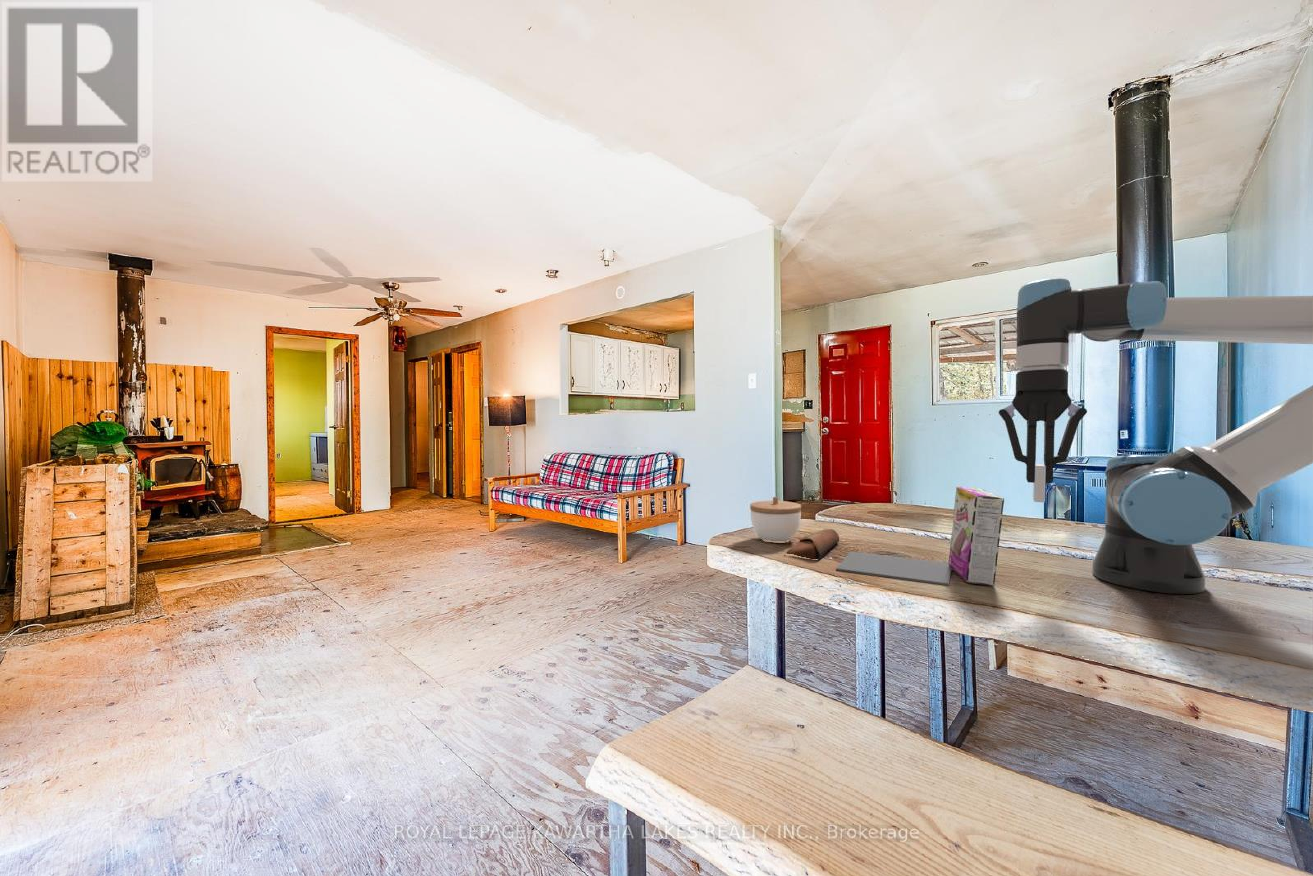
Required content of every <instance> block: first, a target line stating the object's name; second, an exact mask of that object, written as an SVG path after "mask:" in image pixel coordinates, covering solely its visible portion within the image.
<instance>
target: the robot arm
mask: <svg viewBox="0 0 1313 876" xmlns="http://www.w3.org/2000/svg"><path fill="white" fill-rule="evenodd" d="M1016 307H1017V308H1016V350H1015V351H1016V355H1015V356H1016V357H1015V358H1016V359H1015V360H1016V361H1015V362H1016V363H1015V368H1016V369H1017V370H1019V371H1017V373H1016V374H1015V394H1014V395H1015V396H1014V398H1013V399H1012V401H1011V404H1010V405H1008V406H1006V407H1005V408H1002V409H1001V408H1000V409H999V410H998V415H999V416H1000V417H1001V419H1002V420H1003V421H1004V423H1005V427H1006V430H1007V435H1008V439H1009V442H1010V446H1011V449H1012V453H1013V456H1014V459H1015V460H1016V461H1017V462H1020V463H1024V464H1025V466H1026V472H1025V473H1026V474H1025V477H1026V478H1025V479H1026V481H1027V483H1033V492H1032V493H1033V494H1032V497H1033V502H1035V503H1045V502H1046V484H1053V482H1054V467H1055V465H1057V464H1060V463H1065V462H1067V459H1068V457H1069V453H1070V451H1071V447H1072V445H1073V441H1074V438H1075V435H1076V433H1077V430H1078V426H1079V423H1080V422H1081V420H1082V419H1083V418H1084V417H1085V416H1086V414H1087V413H1088V410H1087V408H1085V407H1080V406H1078V405H1076V404H1074V403H1073V402H1072V399H1071V397H1070V396H1069V371H1068V370H1067V369H1065V368H1066V367H1068V366H1069V355H1070V354H1069V351H1070V350H1069V349H1070V348H1069V346H1070V339H1069V337H1070V335H1071V334H1072V335H1073V334H1075V335H1076V334H1077V335H1079V334H1081V335H1083V337H1085V339H1088V340H1090V341H1093V342H1101V343H1106V342H1110V341H1114V340H1115V341H1166V342H1168V341H1170V342H1172V341H1174V342H1204V343H1205V342H1207V343H1209V342H1212V343H1249V344H1250V343H1251V344H1252V343H1253V344H1294V345H1296V344H1298V345H1313V295H1287V296H1286V295H1284V296H1283V295H1277V296H1274V295H1272V296H1270V295H1269V296H1267V295H1266V296H1263V295H1262V296H1204V297H1202V296H1201V297H1197V296H1195V297H1193V296H1191V297H1185V296H1184V297H1180V296H1179V297H1168V296H1167V288H1166V286H1165V284H1164V283H1163V282H1161V281H1158V280H1155V281H1154V280H1153V281H1141V282H1140V281H1133V282H1131V283H1122V284H1121V283H1120V284H1115V285H1107V286H1105V285H1104V286H1097V287H1090V288H1081V289H1080V288H1079V289H1077V288H1075V289H1074V288H1073V289H1072V286H1071V282H1070V280H1068V279H1066V278H1061V277H1060V278H1058V277H1057V278H1046V279H1041V280H1035V281H1030V282H1028V283H1026V284H1024V285H1023V286H1021V287H1020V289H1019V290H1018V293H1017V306H1016ZM1067 409H1068V412H1067V416H1068V417H1069V419H1068V421H1067V423H1066V427H1065V429H1064V433H1063V436H1062V438H1061V442H1060V445H1059V447H1058V448H1059V449H1058V451H1057V455H1055V426H1056V420H1058V419H1059V418H1060V417H1061V415H1063V414H1064V413H1065V412H1066V411H1067ZM1015 410H1016V411H1017V413H1019V415H1020V416H1021V417H1022V418H1023V420H1025V421H1026V451H1025V453H1026V454H1025V455H1024V454H1023V450H1022V448H1021V443H1020V440H1019V436H1018V433H1017V428H1016V425H1015V422H1014V419H1013V418H1014V417H1015ZM1038 422H1043V426H1044V427H1043V428H1044V430H1043V431H1044V433H1043V435H1044V436H1043V438H1044V439H1043V464H1039V463H1038V464H1036V462H1037V461H1036V460H1037V459H1036V458H1037V457H1036V456H1037V455H1036V454H1037V423H1038ZM1312 464H1313V384H1312V385H1311V386H1309V387H1307V388H1306V389H1304V390H1302V391H1301V392H1298V393H1297V394H1295V395H1294V396H1291V397H1290V398H1288V399H1286V400H1285V401H1283V402H1281V403H1279V404H1278V405H1276V406H1274V407H1273V408H1270V409H1269V410H1267V411H1265V412H1263V413H1262V414H1260V415H1258V416H1257V417H1255V418H1253V419H1251V420H1250V421H1248V422H1246V423H1245V424H1242V425H1241V426H1240V427H1238V428H1236V429H1234V430H1232V431H1230V432H1229V433H1227V434H1225V435H1223V436H1222V437H1219V438H1218V439H1216V440H1215V441H1212V442H1211V443H1209V444H1207V445H1206V446H1186V445H1184V446H1182V447H1180V448H1179V449H1177V450H1176V451H1174V452H1172V453H1170V454H1168V455H1118V456H1113V457H1110V458H1109V459H1108V460H1107V463H1106V469H1105V471H1104V475H1105V477H1106V481H1105V483H1106V484H1105V516H1104V517H1105V521H1104V522H1105V523H1104V524H1105V527H1104V528H1105V529H1104V530H1105V532H1104V533H1105V534H1104V536H1103V539H1102V541H1101V544H1100V545H1099V547H1098V549H1097V552H1096V554H1095V557H1094V559H1093V561H1092V571H1091V572H1092V575H1093V576H1095V577H1096V578H1098V579H1099V580H1102V581H1105V582H1108V583H1111V584H1114V585H1118V586H1122V587H1125V586H1126V588H1130V587H1131V589H1136V590H1142V591H1148V592H1154V593H1155V592H1156V593H1163V594H1175V595H1176V594H1177V595H1178V594H1179V595H1191V594H1192V595H1195V594H1200V593H1203V592H1205V591H1206V576H1205V574H1204V571H1203V569H1202V566H1201V564H1200V562H1199V559H1198V556H1197V554H1196V552H1195V550H1194V547H1193V545H1195V544H1200V543H1204V542H1206V541H1209V540H1211V539H1213V538H1215V537H1217V536H1218V535H1220V534H1221V533H1222V532H1223V531H1224V529H1226V527H1227V526H1228V525H1229V523H1230V520H1231V519H1233V518H1235V517H1237V516H1238V515H1241V514H1243V513H1244V512H1246V511H1248V510H1251V509H1252V508H1255V507H1256V506H1257V500H1258V494H1259V492H1260V491H1261V490H1263V489H1265V488H1267V487H1269V486H1271V485H1273V484H1275V483H1276V482H1279V481H1281V480H1283V479H1285V478H1286V477H1289V476H1290V475H1293V474H1295V473H1297V472H1298V471H1300V470H1302V469H1304V468H1306V467H1308V466H1311V465H1312Z"/></svg>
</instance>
